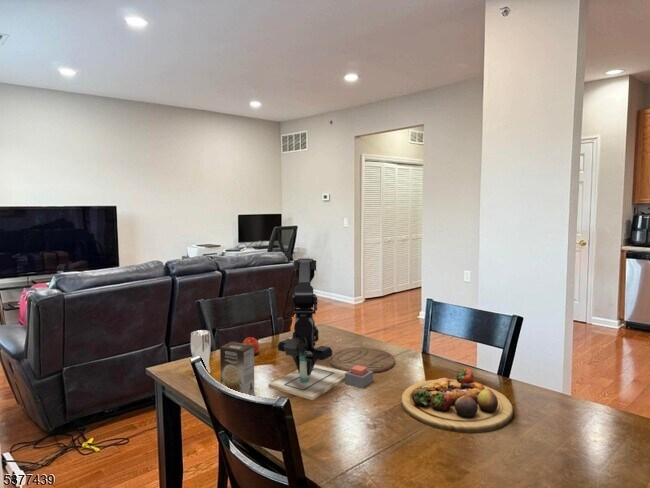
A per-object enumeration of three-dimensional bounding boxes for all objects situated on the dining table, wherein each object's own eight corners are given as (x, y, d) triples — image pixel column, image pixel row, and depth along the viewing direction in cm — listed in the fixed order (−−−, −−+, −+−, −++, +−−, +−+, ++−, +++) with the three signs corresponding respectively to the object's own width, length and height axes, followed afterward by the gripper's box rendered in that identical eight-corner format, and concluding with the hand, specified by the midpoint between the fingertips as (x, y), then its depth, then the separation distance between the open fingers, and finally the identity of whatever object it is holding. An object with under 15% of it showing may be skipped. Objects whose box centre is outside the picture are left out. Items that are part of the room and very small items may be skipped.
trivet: (405, 359, 176) (405, 354, 176) (377, 380, 155) (377, 374, 155) (349, 348, 189) (349, 344, 189) (316, 366, 168) (316, 361, 168)
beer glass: (214, 370, 164) (213, 330, 163) (207, 377, 157) (206, 335, 156) (196, 369, 165) (194, 329, 164) (188, 376, 158) (187, 335, 157)
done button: (356, 373, 155) (356, 365, 155) (367, 376, 153) (367, 367, 152) (350, 377, 152) (350, 368, 151) (361, 379, 149) (361, 371, 149)
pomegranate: (245, 363, 177) (265, 347, 178) (233, 349, 177) (253, 333, 178) (246, 359, 185) (265, 343, 186) (235, 345, 184) (254, 329, 185)
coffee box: (219, 396, 142) (218, 346, 140) (232, 388, 147) (231, 341, 146) (244, 401, 138) (242, 350, 136) (255, 393, 144) (254, 344, 142)
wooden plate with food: (437, 377, 157) (437, 354, 156) (531, 405, 134) (531, 379, 133) (379, 408, 135) (378, 382, 134) (479, 448, 112) (479, 417, 111)
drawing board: (310, 365, 168) (310, 362, 168) (352, 375, 158) (352, 372, 158) (268, 387, 149) (268, 383, 149) (312, 400, 139) (312, 396, 138)
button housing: (355, 376, 157) (355, 367, 157) (373, 381, 153) (373, 371, 153) (344, 383, 151) (344, 373, 151) (363, 388, 147) (363, 377, 147)
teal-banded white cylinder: (303, 377, 152) (303, 351, 152) (311, 379, 150) (311, 353, 150) (297, 380, 150) (297, 354, 149) (305, 382, 148) (305, 356, 147)
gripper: (266, 329, 147) (267, 375, 148) (312, 338, 137) (313, 388, 138) (288, 322, 156) (288, 365, 158) (333, 330, 146) (333, 377, 147)
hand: (304, 374), depth 150 cm, fingers closed on teal-banded white cylinder, 3 cm apart
